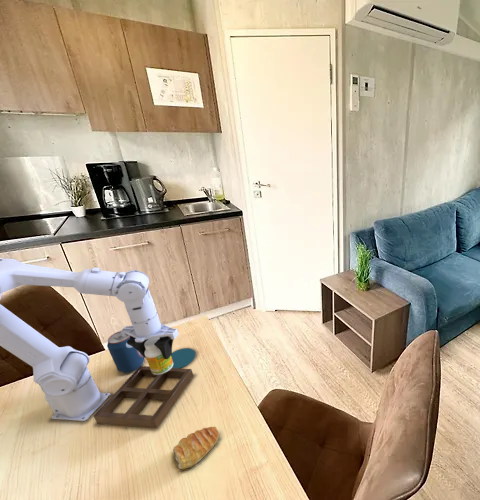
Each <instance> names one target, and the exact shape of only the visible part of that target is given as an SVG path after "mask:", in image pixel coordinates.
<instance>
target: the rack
mask: <svg viewBox="0 0 480 500" xmlns="http://www.w3.org/2000/svg"><path fill="white" fill-rule="evenodd" d="M144 377H145V378H154V379H153V380H151V382H150V383H149V385H148V386H147V387H145V388H144V387H137V385H139V383H140V382H141V381H142V379H144ZM168 379H178V381H177V382H176V384H175V385H174V387H173V388H172V389H160V388H161V387H162V386H163V385H164V383H166V381H167V380H168ZM192 379H194V373H193V370H192V368H184V367H183V368H171V369H170V370H169V371H167V372H166V373H163V374H160V375H155V374H153V373H152V372H151V369H150V367H149V365H148V366H147V365H142V366H140V367H139V368H138V369H137V370H136V371H134V372H132V374H131V375H130V376H129V377H128V378H127V379H126V380H125V382H123V384H121V386H119V388H117V390H116V391H115V392H114V393H113V394H111V396H110V397H109V398H108V399H107V400H106V401H105V402H104V403H103V404H102V405H101V406H100V407H99V408H98V409H97V410H96V411H95V412H94V413H93V416H92V417H93V418H94V420H95V423H96V424H97V425H109V426H122V427H137V428H153V429H158V428H159V427H160V426H161V424H162V422H163V421H164V420H165V418H166V417H167V415H168V414H169V412H170V411H171V410H172V408H173V407H174V405H175V403H177V401H178V400H179V398H180V397H181V395H182V394H183V392H184V391H185V390H186V388H187V387H188V385H189V384H190V382H191V381H192ZM125 399H129V400H130V399H131V400H135V401H134V402H133V403H132V404H131V405H130V407H129V408H128V409H127V411H126V412H125V413H123V412H122V413H121V412H114V411H115V410H116V409H117V408H118V407H119V405H120V404H121V403H122V402H123V401H124V400H125ZM150 401H161V402H162V403H161V404H160V405H159V407H158V408H157V410H155V412H154V413H153V414H152V415H151V414H150V415H149V414H141V412H142V411H143V410H144V408H145V407H146V406H147V405H148V403H150Z"/></svg>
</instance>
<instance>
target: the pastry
mask: <svg viewBox="0 0 480 500" xmlns="http://www.w3.org/2000/svg"><path fill="white" fill-rule="evenodd" d="M219 438H220V433H219V430H218V429H217V427H216V426H209V427H203V428H202V429H198V430H195V431H194V432H191V433H189V434H187V435H186V437H182V438H181V439H180V440H179V441H178V443H177V444H176V445H175V446H173V449H172V453H173V455H174V458H175V460H176V462H177V463H178V464H177V466H178V468H179V469H180V470H186V469H188V468H191V467H193V466H195V465H196V464H198V463H199V462H200V461H201V460H202V459H203V458H204V457H206V455H207V454H208V453H209V452H210V451H211V450H212V449H213V448H214V446H215V445H217V442H218V440H219Z"/></svg>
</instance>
